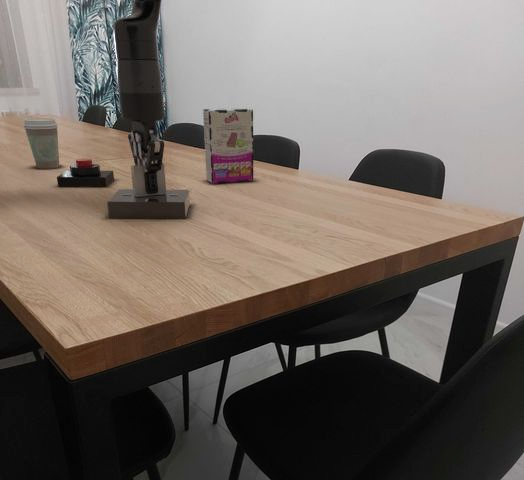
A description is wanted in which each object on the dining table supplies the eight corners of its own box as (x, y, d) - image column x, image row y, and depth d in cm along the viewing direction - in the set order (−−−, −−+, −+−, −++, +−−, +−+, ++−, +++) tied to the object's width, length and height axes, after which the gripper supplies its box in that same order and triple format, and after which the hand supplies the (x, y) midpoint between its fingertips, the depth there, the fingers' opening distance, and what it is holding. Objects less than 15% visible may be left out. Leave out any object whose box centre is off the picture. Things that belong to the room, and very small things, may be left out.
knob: (136, 197, 94) (133, 165, 91) (133, 195, 95) (130, 163, 92) (166, 194, 97) (164, 163, 94) (163, 192, 98) (161, 161, 95)
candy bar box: (246, 178, 129) (246, 107, 121) (253, 181, 125) (254, 108, 117) (205, 180, 125) (202, 107, 117) (211, 184, 121) (209, 109, 113)
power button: (75, 168, 117) (73, 160, 116) (79, 166, 120) (78, 158, 119) (90, 168, 117) (89, 160, 116) (94, 166, 120) (93, 158, 119)
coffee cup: (31, 170, 133) (21, 121, 128) (31, 165, 140) (22, 118, 134) (65, 169, 136) (57, 120, 130) (64, 164, 143) (56, 118, 137)
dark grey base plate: (109, 218, 92) (106, 200, 91) (120, 204, 102) (118, 188, 100) (185, 218, 93) (184, 201, 92) (189, 204, 103) (189, 188, 101)
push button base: (58, 186, 116) (54, 168, 114) (69, 179, 124) (66, 162, 122) (106, 187, 116) (104, 169, 114) (114, 179, 124) (112, 162, 122)
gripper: (175, 91, 84) (182, 197, 92) (148, 88, 94) (156, 183, 103) (131, 91, 80) (142, 201, 89) (108, 88, 91) (120, 187, 99)
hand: (150, 191), depth 96 cm, fingers closed on knob, 2 cm apart
